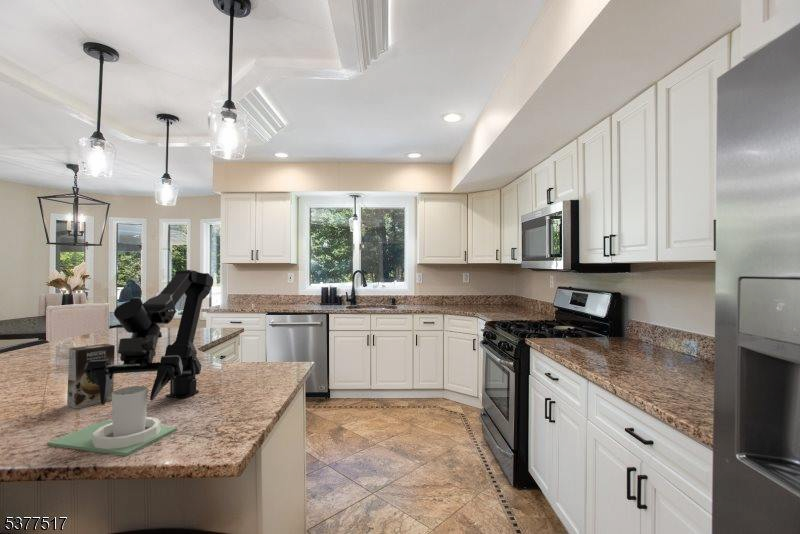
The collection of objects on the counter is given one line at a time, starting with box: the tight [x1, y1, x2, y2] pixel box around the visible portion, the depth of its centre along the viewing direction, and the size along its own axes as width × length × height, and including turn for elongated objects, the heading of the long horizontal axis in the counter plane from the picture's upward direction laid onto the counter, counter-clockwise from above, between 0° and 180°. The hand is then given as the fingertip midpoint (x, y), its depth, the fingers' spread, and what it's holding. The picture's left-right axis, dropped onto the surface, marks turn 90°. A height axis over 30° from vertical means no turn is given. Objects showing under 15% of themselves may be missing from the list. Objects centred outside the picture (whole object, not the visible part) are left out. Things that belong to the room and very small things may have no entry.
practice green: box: [46, 416, 178, 457], centre depth 86 cm, size 21×13×3 cm, turn 77°
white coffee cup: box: [111, 385, 149, 437], centre depth 85 cm, size 7×7×10 cm
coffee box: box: [66, 343, 116, 410], centre depth 109 cm, size 9×6×16 cm
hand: (127, 402), depth 84 cm, fingers open, 9 cm apart
